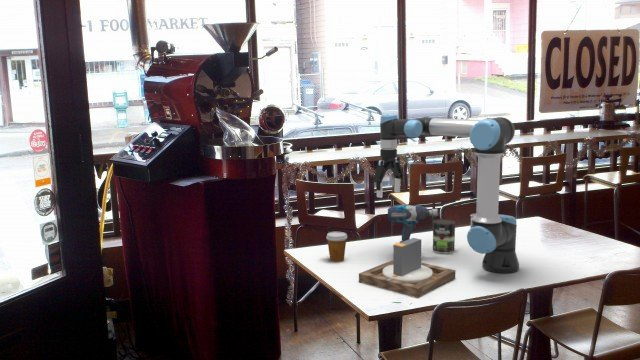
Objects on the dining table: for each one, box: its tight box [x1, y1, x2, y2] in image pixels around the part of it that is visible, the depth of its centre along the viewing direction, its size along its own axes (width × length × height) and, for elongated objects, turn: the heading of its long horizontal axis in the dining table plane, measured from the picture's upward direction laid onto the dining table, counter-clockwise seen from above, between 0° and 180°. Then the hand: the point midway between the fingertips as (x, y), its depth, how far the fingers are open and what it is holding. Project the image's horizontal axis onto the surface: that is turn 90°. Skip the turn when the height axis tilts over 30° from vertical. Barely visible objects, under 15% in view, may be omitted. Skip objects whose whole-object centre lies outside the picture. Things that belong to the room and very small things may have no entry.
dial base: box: [358, 259, 457, 298], centre depth 256 cm, size 28×28×4 cm
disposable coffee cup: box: [326, 231, 348, 263], centre depth 284 cm, size 10×10×12 cm
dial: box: [383, 237, 432, 284], centre depth 255 cm, size 20×20×14 cm
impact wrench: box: [387, 204, 440, 243], centre depth 282 cm, size 8×23×25 cm, turn 78°
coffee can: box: [432, 218, 456, 255], centre depth 295 cm, size 10×10×14 cm
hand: (388, 194), depth 287 cm, fingers open, 13 cm apart
